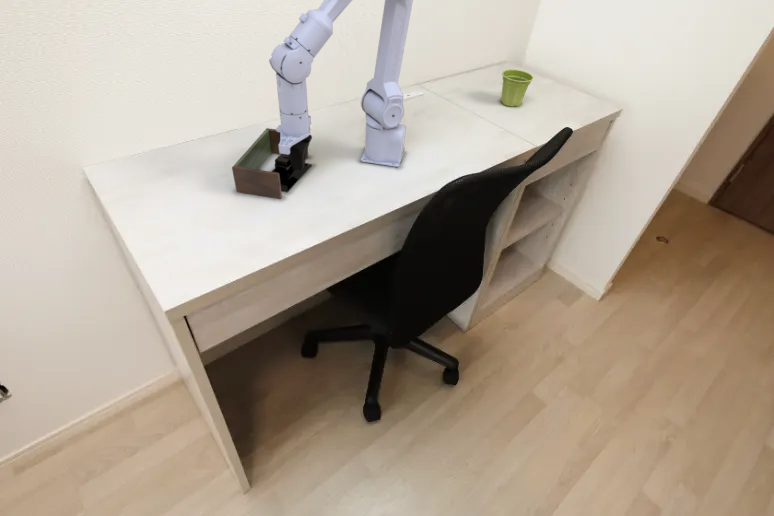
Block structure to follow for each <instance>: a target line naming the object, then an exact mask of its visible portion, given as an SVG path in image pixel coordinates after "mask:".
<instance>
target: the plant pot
mask: <svg viewBox="0 0 774 516" xmlns="http://www.w3.org/2000/svg"><path fill="white" fill-rule="evenodd" d="M501 74H502V89H501V97H500V102H501V103H502V105H505V106H508V107H520V106H521V104H522V102H523V99H524V97H525V94H526V92H527V91H528V88H529V86H530V84H531V82H533V80H534V75H532V74H531V73H529V72H527V71H525V70H520V69H505V70H503V71H502V73H501Z"/></svg>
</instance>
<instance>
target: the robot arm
mask: <svg viewBox="0 0 774 516" xmlns="http://www.w3.org/2000/svg"><path fill="white" fill-rule="evenodd" d="M352 1H353V0H323V1H322V2H321V3H320V5H319V7H318V8H316V9H309V10H307V12H306V13H301V14H300V16H299V17H298V20H299V22H298V23H297V25H296V26H295V28H293V30H292V31H291V32H290V34H289V36H285V38H284V39H283V43H281V44H278V45H276V46H275V47H274V48H273V50H272V52H271V57H270V58H269V59H268V62H269V65H270V67H271V69H272V70H273V71H274V72H275V79H276V91H277V101H278V110H279V119H280V124H279V125H277V127H275V129H276V131H277V132H280V133H281V134H280V143H279V153H280V154H279V155H281V154H287V155H288V157H289V159H290V162H291V164H292V167H293V169H296V170H302V169H303V168H304V165H305V163H306V160H307V158H306V154H307V149H308V150H309V146H310V143H311V141H312V139H313V135H312V134H311V125H312V116H311V115H309V104H308V89H307V86H308V85H307V78H308V77H310V75H311V71H312V63H313V62H314V59H315V58H316V57H317V55H318V54H319V53H320V51H321V50H322V48H323V47H324V46H325V45H326V43H327V42H328V41H329V39H331V37H332V35H333V34H334V28H333V27H334V25H333V23H335V21H336V20H337V19H338V18H339V16H341V14H342V13H343V12H344V11H345V9H346V8H347V7H348V6H349V5H350V4H351V3H352ZM413 3H414V0H384V3H383V4H384V5H383V12H382V18H381V25H380V26H381V27H380V33H379V39H378V46H377V53H376V59H375V67H374V74H373V78H371V79H370V80H368V81H367V83H366V88H365V91H364V93H363V94H362V95H361V99H360V107H361V109H362V111H363V113H365V140H364V148H365V149H364V151H363V153H362V155H361V158H360V162H362V163H369V164H375V165H381V166H389V167H394V168H399V167H400V165H401V162H402V159H403V156H404V153H405V141H406V140H405V139H406V125H405V124H402V120H403V118H404V116H405V108H404V98H405V97H404V93H403V92H402V89H401V86H400V83H399V81H400V76H401V75H400V74H401V69H402V65H403V64H402V63H403V59H404V53H405V47H406V41H407V35H408V30H409V25H410V19H411V13H412V7H413Z"/></svg>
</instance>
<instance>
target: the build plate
mask: <svg viewBox="0 0 774 516" xmlns="http://www.w3.org/2000/svg"><path fill="white" fill-rule="evenodd" d="M312 167H313V164H312V163H308V162H305V165H304V168H303V169H302V170H296V169H293V167H292V164H291V162H290V159H289V157H288V155H287V154H278V156H277V157H276V158H275V159H274V168H273V170H271V172H276V173H279V176H280V185H281V192H282V193H289V192H290V191H291V190H292V188H294V186H295V185H296V184H297V183H298V182H299V181H300V180H301V179H302V177H304V175H305V174H306V173H307V172H308V171H310V169H311V168H312Z"/></svg>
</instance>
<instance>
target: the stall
mask: <svg viewBox="0 0 774 516" xmlns="http://www.w3.org/2000/svg"><path fill="white" fill-rule="evenodd" d="M280 134H281V133H280V132H277V131H276V128H269V127H267V128H265V130H264V131H262V133H261V134H260V135H259V136H258V137H257V139H255V141H253V143H252V144H251V145H250V147H248V149H247V150H246V151H245V152H244V153H243V155H241V156H240V158H239V159H238V160H237V161H236V162H235V164H234V165H232V166H231V171H232V175H233V176H232V177H233V179H234V186H235V191H236V193H241V194H247V195H252V196H253V195H254V196H259V197H265V198H272V199H278V200H281V199H282V198H283V195H282V193H283V192H282V191H281V185H280V176H279V173H276V172H272V171H269V170H264V169H260V168H261V167H262V165H263V164H264V163H265V162H266V161H267V160H268V158H269V157H270V155H271V154H276V155H281V154H280V153H279V143H280ZM309 156H310V155H309V148H308V149H307V154H306V159H309Z"/></svg>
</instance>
